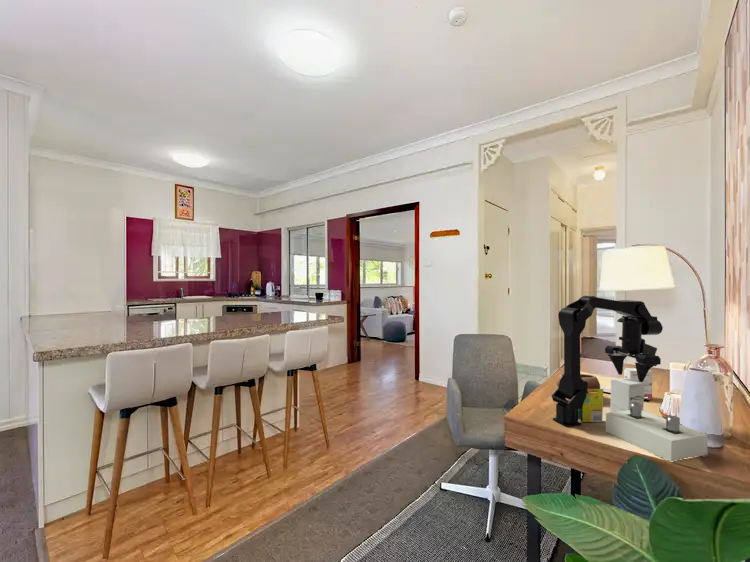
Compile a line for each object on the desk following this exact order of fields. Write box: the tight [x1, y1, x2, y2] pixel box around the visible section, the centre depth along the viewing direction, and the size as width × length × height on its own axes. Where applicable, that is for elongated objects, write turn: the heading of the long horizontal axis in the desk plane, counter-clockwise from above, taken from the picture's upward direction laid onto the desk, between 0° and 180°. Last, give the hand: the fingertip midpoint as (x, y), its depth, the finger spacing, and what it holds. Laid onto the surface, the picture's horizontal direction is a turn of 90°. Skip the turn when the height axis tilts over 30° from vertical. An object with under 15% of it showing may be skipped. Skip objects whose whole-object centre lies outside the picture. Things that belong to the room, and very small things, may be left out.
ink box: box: [623, 367, 653, 401], centre depth 149 cm, size 9×5×12 cm, turn 84°
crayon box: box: [578, 388, 604, 423], centre depth 125 cm, size 7×3×12 cm, turn 92°
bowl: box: [556, 373, 601, 392], centre depth 149 cm, size 16×16×10 cm
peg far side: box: [665, 414, 681, 434], centre depth 103 cm, size 3×3×6 cm
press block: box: [605, 409, 709, 461], centre depth 109 cm, size 14×20×6 cm
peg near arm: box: [630, 402, 642, 419], centre depth 114 cm, size 3×3×6 cm
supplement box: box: [609, 377, 645, 413], centre depth 130 cm, size 7×7×13 cm
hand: (630, 378), depth 128 cm, fingers open, 9 cm apart
